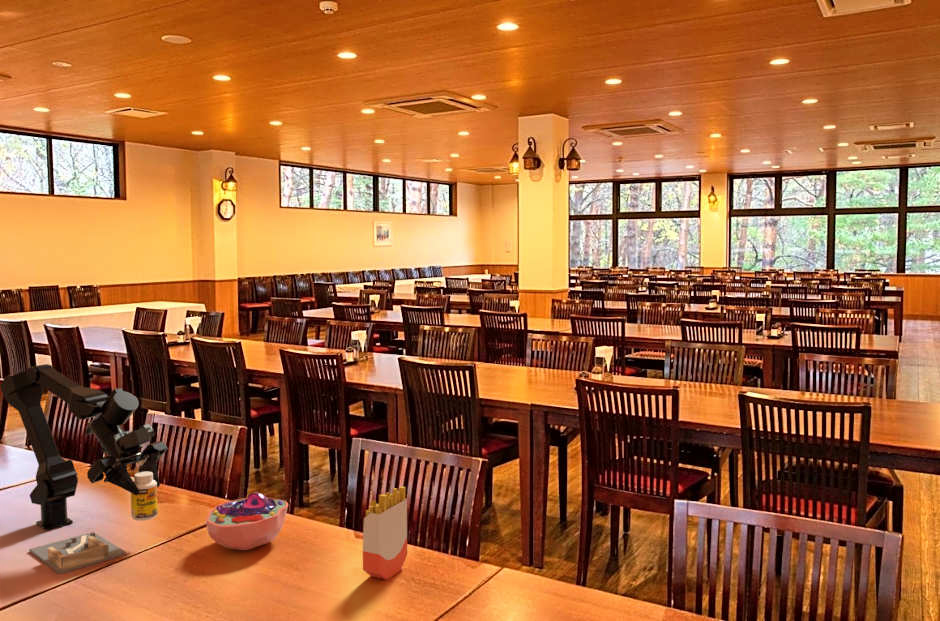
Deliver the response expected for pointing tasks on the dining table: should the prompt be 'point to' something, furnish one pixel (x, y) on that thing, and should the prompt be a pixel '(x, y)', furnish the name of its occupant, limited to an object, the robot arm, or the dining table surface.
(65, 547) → the board
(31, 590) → the dining table surface
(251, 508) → the cell model
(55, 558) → the end holder
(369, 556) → the french fries container
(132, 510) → the supplement bottle
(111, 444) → the robot arm
